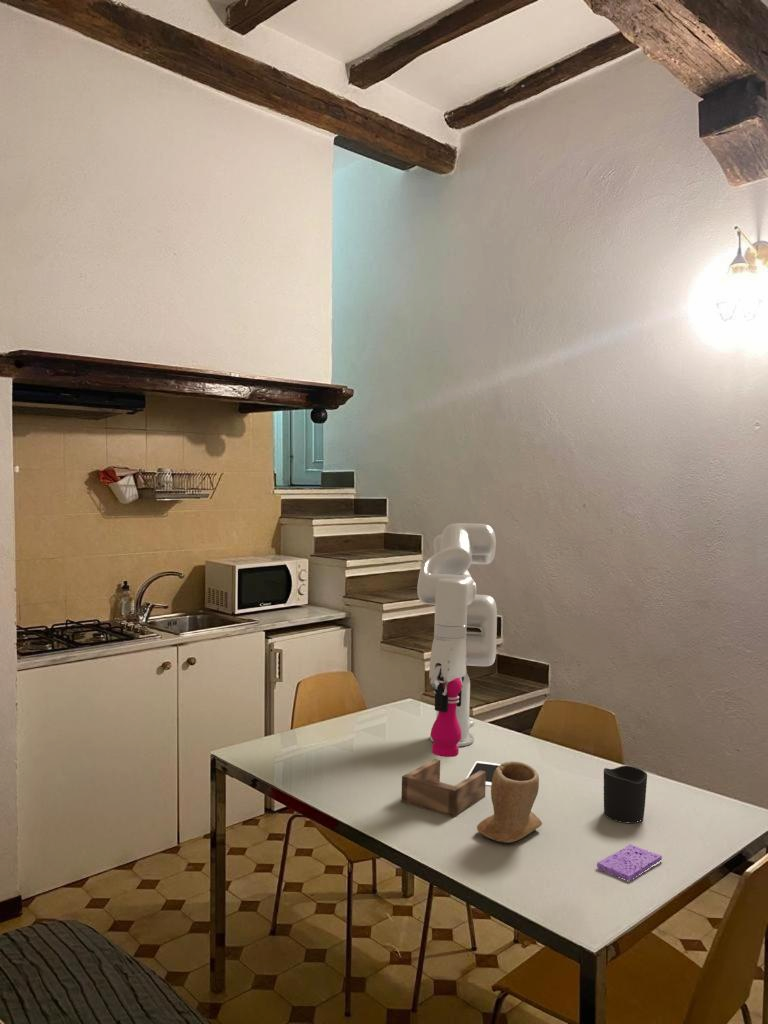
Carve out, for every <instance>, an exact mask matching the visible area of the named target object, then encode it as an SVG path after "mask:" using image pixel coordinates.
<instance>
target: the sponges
mask: <svg viewBox="0 0 768 1024" xmlns="http://www.w3.org/2000/svg"><path fill="white" fill-rule="evenodd" d="M662 859H663V856H662V854H659V853H656V852H654V851H648V849H644V848H641V847H638V846H637V845H633V844H631V843H629V844H628V845H627V846H624V847H623V848H622V849H620V850H618V851H616V852H614V853H612V854H609V855H608V856H606V857H604V858H602V859H601V860H598V861H597V863H596V868H597V869H598V870H599V871H601V870H602V872H604V873H606V874H608V873H609V875H611V874H612V875H611V876H613V875H615V876H614V877H617V876H618V877H620V878H619V879H621V878H623V879H625V880H628V881H630V880H631V881H633V880H634V879H633V878H635V877H636V876H638V875H639V874H641V873H642V872H644V871H645V870H647V869H648V868H650V867H651V866H652V865H654V864H656V863H657V862H659V861H660V860H662ZM641 875H642V874H641ZM618 877H617V878H618ZM638 877H639V876H638ZM636 878H637V877H636ZM636 878H635V879H636ZM623 879H622V880H623ZM632 879H633V880H632ZM625 880H624V881H625ZM628 881H627V882H628ZM631 881H630V882H631Z"/></svg>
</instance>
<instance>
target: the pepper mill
mask: <svg viewBox="0 0 768 1024" xmlns="http://www.w3.org/2000/svg"><path fill="white" fill-rule="evenodd" d="M440 680H441V681H443V680H444V679H443V678H440ZM440 685H441V686H442V687H443V686H444V684H441V683H440ZM461 690H462V682H461V680H460V679H459V678H456V679H455V680H453V681H451V682H449V684H448V689H447V694H446V695H448V711H447V712H440V711H439V713H438V716H437V719H436V718H435V720H434V722H433V725H432V727H431V730H430V734H431V738H432V739H433V741H434V742H435V743H434V742H433V741H432V742H433V743H432V745H431V753H432V754H433V755H435V756H437V757H444V758H454V757H457V756H458V755H459V752H460V751H459V750H460V746H457V743H458V742H459V741H460V740H461V737H462V733H461V728H460V725H459V722H458V719H457V716H456V706H457V703H458V702H459V696H458V694H459V693H460V691H461Z"/></svg>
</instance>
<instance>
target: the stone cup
mask: <svg viewBox="0 0 768 1024" xmlns="http://www.w3.org/2000/svg"><path fill="white" fill-rule="evenodd" d="M500 764H501V765H499V766H498V767H497V768H496V770H495V772H494V774H493V778H492V784H491V786H490V796H491V797H490V799H491V803H492V808H493V814H492V815H490V816H487V817H486V818H485V819H483V820H481V821H480V822H479V823H478V824H477V825H476V829H477V832H478V833H480V834H481V835H482V836H484V837H486V838H488V839H489V840H493V841H496V842H500V843H506V844H510V843H511V844H512V843H513V842H517V841H519V840H521V839H523V838H525V837H526V836H527V835H530V834H531V833H532V832H534V831H535V830H537V829H539V828H540V827H541V826H542V825H543V822H542V821H541V819H540V818H539V817H538V816H537V815H536V814H535V813H534V812H532V808H533V806H534V803H535V801H536V798H537V797H538V794H539V788H540V787H539V786H540V777H539V773H538V772H537V770H536V769H535V768H534V767H533V766H531V765H529V764H528V763H524V762H522V761H506V762H503V763H500Z"/></svg>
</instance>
